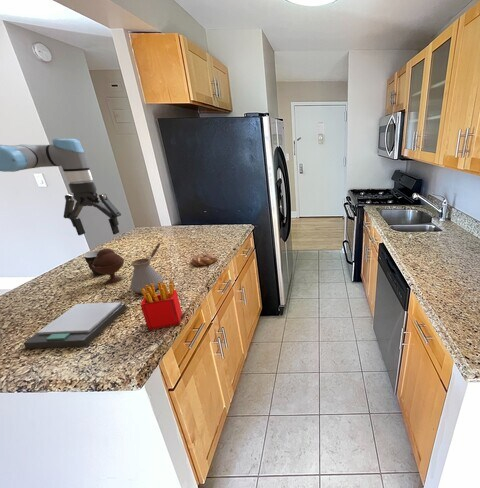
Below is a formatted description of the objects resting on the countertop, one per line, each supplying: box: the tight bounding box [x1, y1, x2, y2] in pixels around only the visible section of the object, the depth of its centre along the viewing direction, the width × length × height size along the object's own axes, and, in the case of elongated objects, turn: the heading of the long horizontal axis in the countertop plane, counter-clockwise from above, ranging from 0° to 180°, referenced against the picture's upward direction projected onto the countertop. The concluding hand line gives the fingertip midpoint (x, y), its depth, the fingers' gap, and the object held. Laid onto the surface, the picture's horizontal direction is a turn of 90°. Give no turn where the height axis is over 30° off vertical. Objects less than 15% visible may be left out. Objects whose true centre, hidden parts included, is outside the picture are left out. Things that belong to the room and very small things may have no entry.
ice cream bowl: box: [91, 247, 125, 285], centre depth 112 cm, size 11×11×15 cm
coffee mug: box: [83, 249, 106, 277], centre depth 118 cm, size 12×9×10 cm
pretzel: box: [191, 253, 218, 267], centre depth 132 cm, size 12×11×4 cm
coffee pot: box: [129, 242, 164, 295], centre depth 110 cm, size 21×12×15 cm, turn 3°
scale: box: [22, 301, 127, 350], centre depth 86 cm, size 17×19×3 cm
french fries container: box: [140, 280, 183, 331], centre depth 86 cm, size 7×9×14 cm
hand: (99, 233), depth 108 cm, fingers open, 13 cm apart
